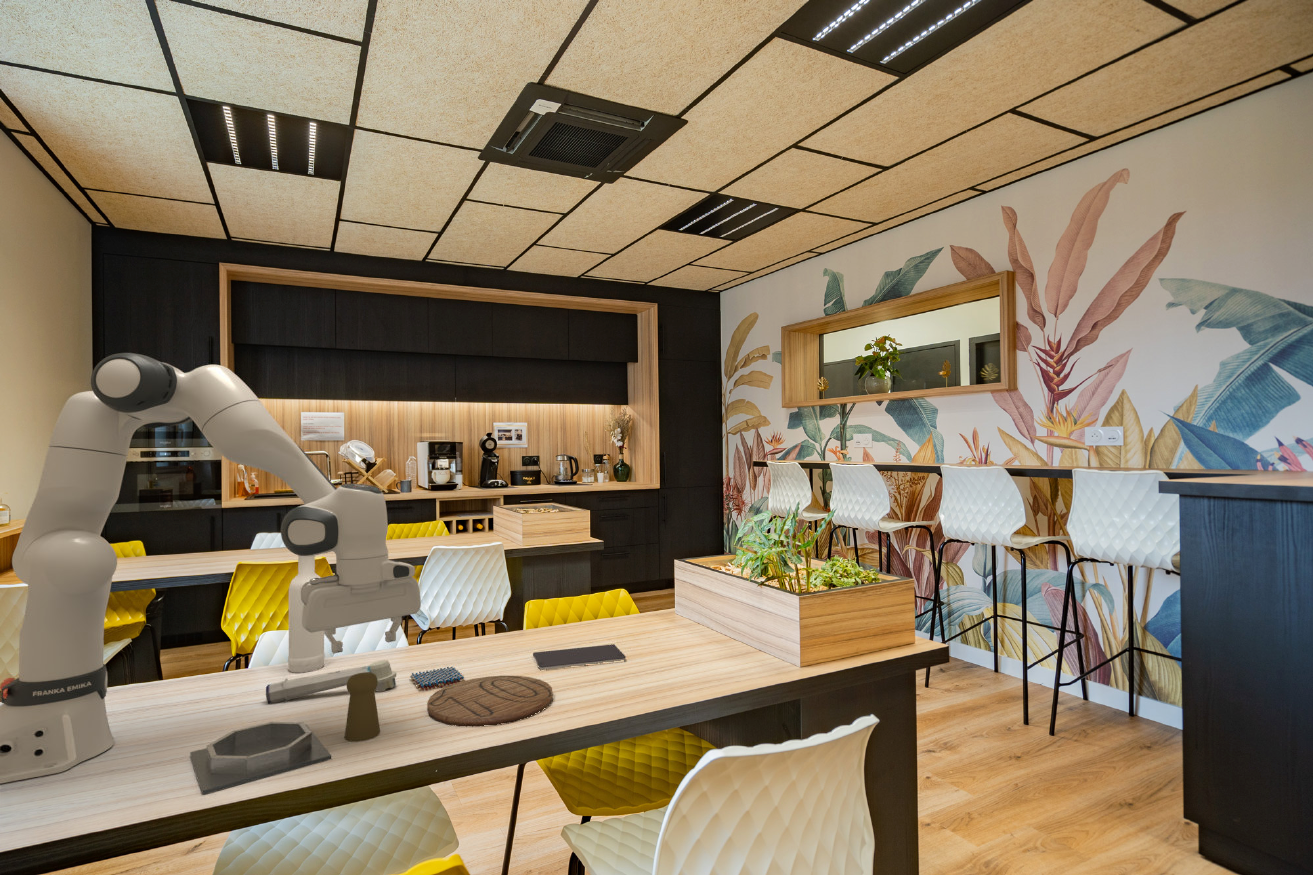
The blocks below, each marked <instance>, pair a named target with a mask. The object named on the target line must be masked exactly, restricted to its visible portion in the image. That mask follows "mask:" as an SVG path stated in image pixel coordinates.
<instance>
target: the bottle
mask: <svg viewBox="0 0 1313 875" xmlns="http://www.w3.org/2000/svg"><path fill="white" fill-rule="evenodd" d="M315 557H316V555H315V556H300V555H297V558H298V559H297V560H298V561H297V562H298V568H297V572H298V573H297V575H295V577H293V578H292V580H291V582H290V584H289V587H288V657H287V664H288V671H289V672H290V673H295V674H296V673H297V674H300V673H299V672H302V673H308V672H307V671H309V672H314V671H317V670H319V669H321V668H323V667H324V666H325V658H326V654H325V634H324V631H318V632H312V633H311V632H309V631H307V630H306V629H304V628H303V626H302V613H303V605H304V603H303V602H302V600H301V589H302V586H303V585H304V584H305V583H306V582H308V581H310V579H313V578H322V577H321V576H320V575H318V574H317V573H316V569H315V568H316V567H315V566H316V564H315V563H316V562H315V560H316V559H315ZM319 584H320V583H319ZM307 585H311V584H310V583H309V584H307ZM316 669H317V670H316ZM313 670H314V671H313Z"/></svg>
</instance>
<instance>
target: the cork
mask: <svg viewBox="0 0 1313 875" xmlns="http://www.w3.org/2000/svg"><path fill="white" fill-rule="evenodd" d="M377 684H378V680H377V677H376V675H375V674H373V673H370V672H364V673H358V674H355V675H353V676H351V677H350V678H349V680H348V681H347V685H346V690H347V692H348V693H349V699H348V709H347V714H346V723H345V730H344V737H343V738H344V740H345V741H347V742H351V743H355V742H356V743H357V742H364V741H368V740H371V739H372V740H373V739H374V738H376V737H378V736H379V735H380V734H381V728H380V722H379V714H378V713H379V712H378V706H377V705H378V704H377V701H376V691H375V689H376V687H377Z"/></svg>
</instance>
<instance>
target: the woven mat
mask: <svg viewBox="0 0 1313 875" xmlns="http://www.w3.org/2000/svg"><path fill="white" fill-rule="evenodd" d="M409 678H410V679H409V681H411V684H413V685H414V686H415V687H416V689H417V691H418V692H424V690H425V691H430V690H435V689H439V688H440V689H442V688H444V687H446V686H449V685H452V684H455V683H458V682H462V681H466V679H465V675H464V674H462V673H461V671H459V669H456V667H453V666H450V667H449V666H447V667H444V668H442V667H441V668H438V669H434V668H433V670H432V669H431V670H429V671H428V670H426V671H422V672H421V671H418V672H415V674H414V672H411V675H409ZM416 685H417V686H416Z"/></svg>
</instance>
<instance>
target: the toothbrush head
mask: <svg viewBox="0 0 1313 875" xmlns="http://www.w3.org/2000/svg"><path fill="white" fill-rule="evenodd" d="M364 672H370V673H373V674H375V675H376V677H377V680H378V684H377V687H376V689H375V691H374V692H377V693H380V692H384V691H386V690H387V689H393V688H395V687H396V686H397V682H396V678H397V671H395V670H394V671H393V670H392V666H391V663H390V661H389V660H387V659H382V660H378V661H377V660H376V661H375V662H372V663H370V664H369V665H365V666H360V667H354V668H349V669H344V670H337V671H332V672H326V673H320V674H319V673H318V674H314V675H310V676H309V675H308V676H304V677H297V678H292V679H288V678H285V679H284V680H283V681H282V680H281V681H278V682H274V683H269V684H267V685H266V687H265V698H266V702H267V704H273V703H279V702H284V701H285V702H289V701H290V700H292V699H296V698H300V697H301V698H302V697H304V696H309V695H313V694H317V693H321V692H325V691H330V690H333V689H337V688H341V687H347V681H348V680H349V678H350V677H351V676H353V675H355V674H358V673H364Z"/></svg>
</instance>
